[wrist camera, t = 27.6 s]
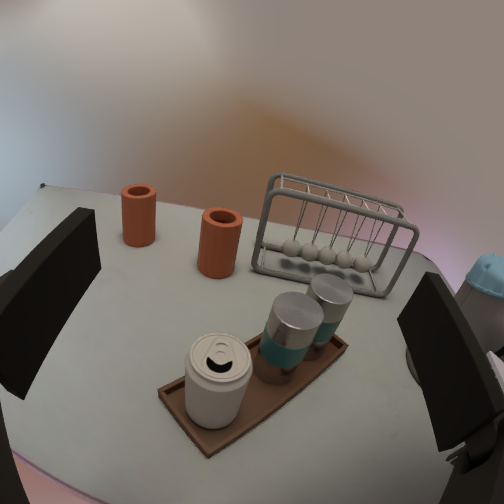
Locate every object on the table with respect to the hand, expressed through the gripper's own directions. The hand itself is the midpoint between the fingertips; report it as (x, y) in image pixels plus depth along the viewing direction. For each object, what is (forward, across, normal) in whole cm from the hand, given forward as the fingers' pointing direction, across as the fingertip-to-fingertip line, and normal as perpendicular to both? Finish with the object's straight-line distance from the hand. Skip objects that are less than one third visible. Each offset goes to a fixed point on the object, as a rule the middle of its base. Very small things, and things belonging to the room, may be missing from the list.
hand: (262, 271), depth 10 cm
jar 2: (+36, -4, -28) cm, 46 cm away
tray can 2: (+20, +12, -28) cm, 36 cm away
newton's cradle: (+41, +18, -28) cm, 53 cm away
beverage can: (+7, -1, -28) cm, 29 cm away
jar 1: (+41, -22, -28) cm, 54 cm away
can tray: (+14, +6, -28) cm, 32 cm away
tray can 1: (+15, +7, -28) cm, 32 cm away
